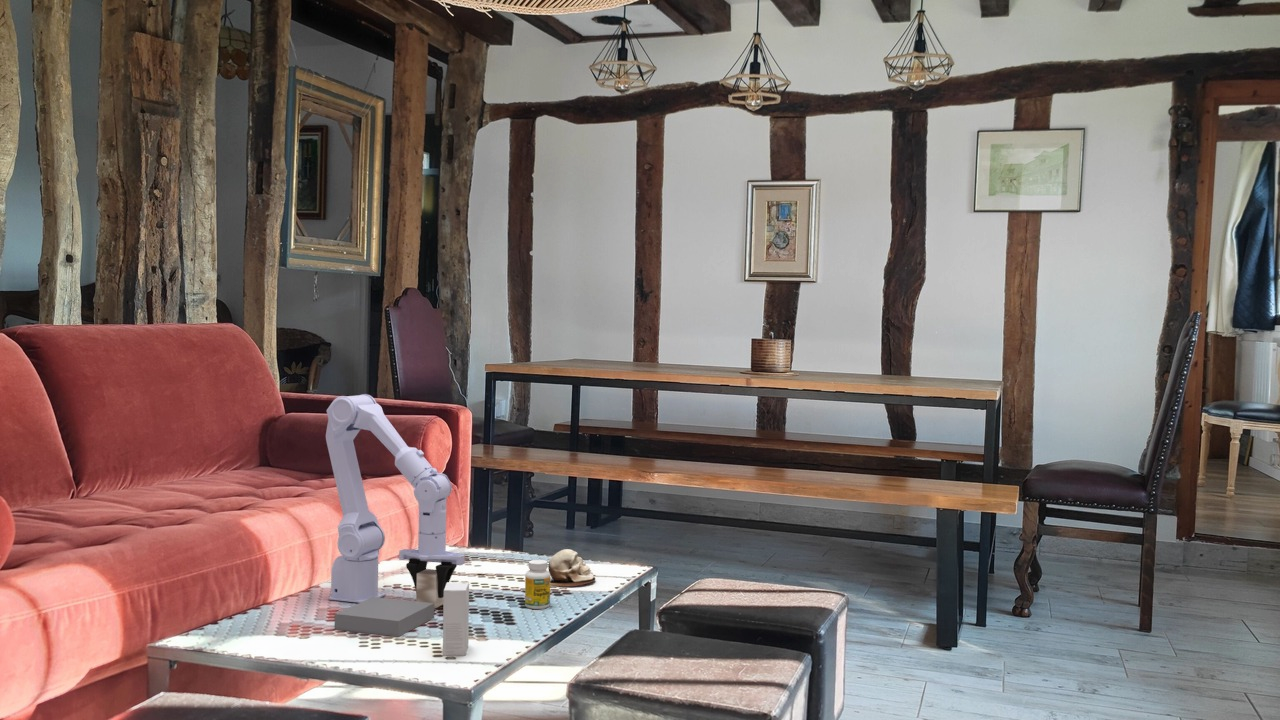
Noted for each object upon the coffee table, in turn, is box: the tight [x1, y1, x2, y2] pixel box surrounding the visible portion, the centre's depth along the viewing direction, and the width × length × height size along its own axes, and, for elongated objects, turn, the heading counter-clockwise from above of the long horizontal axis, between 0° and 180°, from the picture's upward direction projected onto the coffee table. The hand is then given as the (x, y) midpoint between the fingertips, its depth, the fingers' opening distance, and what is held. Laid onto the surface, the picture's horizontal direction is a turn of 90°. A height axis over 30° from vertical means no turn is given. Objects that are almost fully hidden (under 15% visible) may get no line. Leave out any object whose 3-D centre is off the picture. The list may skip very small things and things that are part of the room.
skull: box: [547, 548, 596, 587], centre depth 241 cm, size 12×10×10 cm
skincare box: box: [442, 581, 470, 657], centre depth 187 cm, size 6×4×12 cm
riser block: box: [334, 597, 435, 638], centre depth 203 cm, size 14×14×3 cm
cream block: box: [415, 568, 444, 609], centre depth 217 cm, size 4×4×7 cm
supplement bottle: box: [524, 559, 551, 610], centre depth 219 cm, size 5×5×10 cm
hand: (431, 595), depth 217 cm, fingers closed on cream block, 4 cm apart
